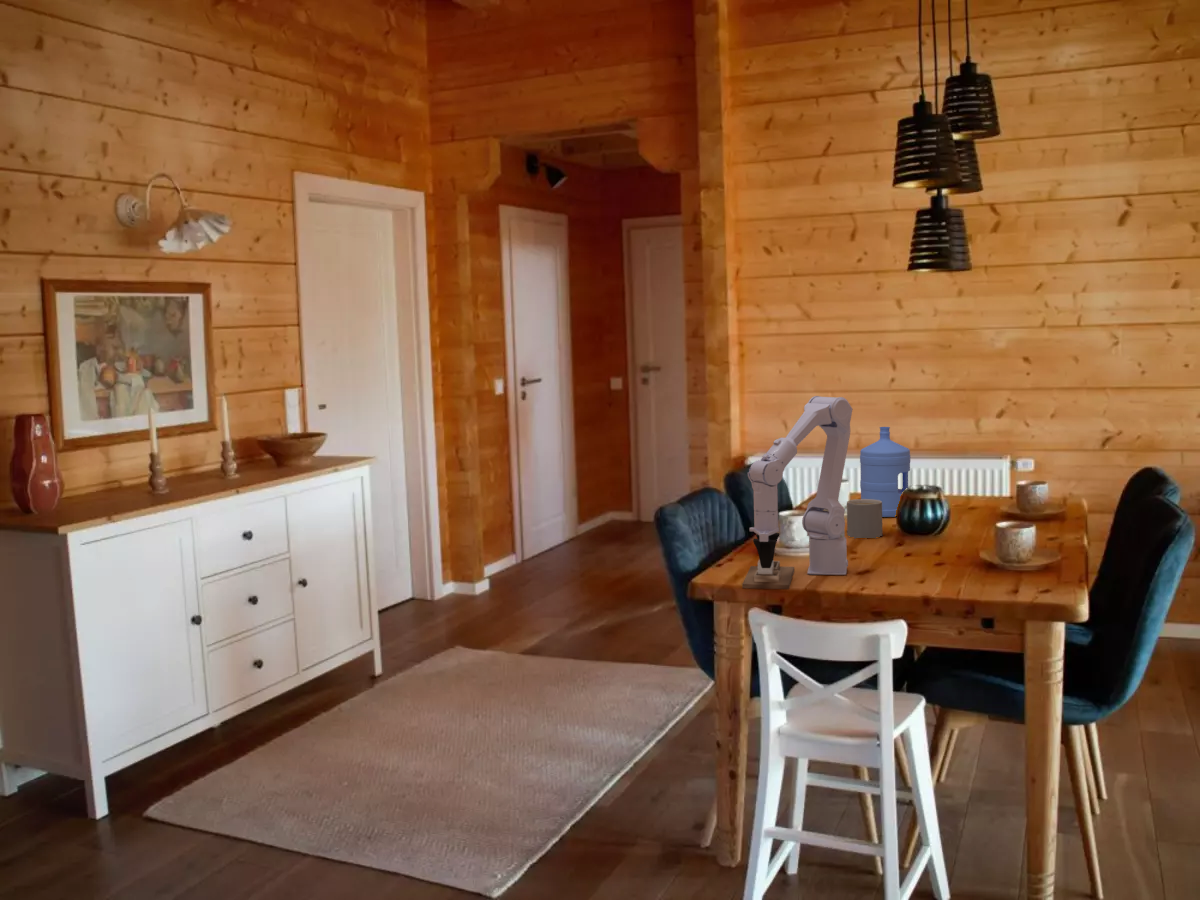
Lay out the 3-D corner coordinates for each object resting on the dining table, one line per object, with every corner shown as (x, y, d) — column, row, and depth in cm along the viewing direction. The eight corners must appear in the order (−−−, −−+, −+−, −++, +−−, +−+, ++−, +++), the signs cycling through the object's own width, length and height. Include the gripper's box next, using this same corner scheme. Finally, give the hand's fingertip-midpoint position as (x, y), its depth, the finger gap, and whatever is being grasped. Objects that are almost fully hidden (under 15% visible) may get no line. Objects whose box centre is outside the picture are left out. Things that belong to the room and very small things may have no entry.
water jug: (865, 519, 358) (864, 430, 355) (856, 510, 373) (855, 425, 370) (916, 517, 357) (915, 428, 354) (904, 509, 373) (903, 424, 370)
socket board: (794, 570, 290) (794, 560, 289) (788, 589, 270) (788, 578, 270) (750, 569, 292) (750, 560, 292) (742, 588, 273) (742, 577, 273)
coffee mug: (879, 539, 325) (878, 505, 324) (844, 538, 329) (843, 504, 328) (887, 531, 337) (886, 497, 336) (853, 529, 341) (852, 496, 340)
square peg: (773, 577, 278) (773, 559, 278) (772, 580, 275) (772, 562, 274) (759, 577, 279) (758, 559, 278) (758, 580, 276) (757, 562, 275)
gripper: (752, 505, 283) (753, 558, 284) (746, 515, 269) (747, 571, 270) (780, 505, 281) (782, 559, 283) (776, 515, 267) (777, 572, 269)
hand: (767, 565), depth 276 cm, fingers open, 5 cm apart
